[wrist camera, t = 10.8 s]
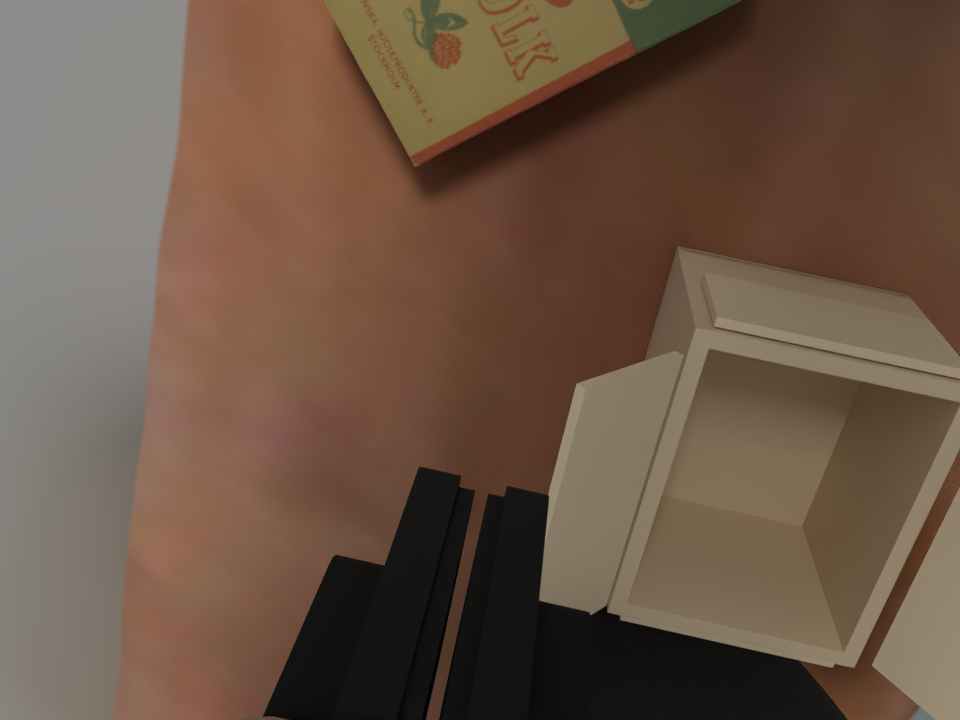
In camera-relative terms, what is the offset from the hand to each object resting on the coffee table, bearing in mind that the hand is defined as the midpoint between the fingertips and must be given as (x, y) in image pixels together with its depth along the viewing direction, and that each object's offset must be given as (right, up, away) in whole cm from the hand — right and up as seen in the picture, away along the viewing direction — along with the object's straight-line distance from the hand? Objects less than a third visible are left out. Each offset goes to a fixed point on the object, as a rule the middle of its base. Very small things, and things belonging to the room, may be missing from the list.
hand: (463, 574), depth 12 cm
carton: (+3, +19, +28) cm, 34 cm away
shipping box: (+14, +1, +35) cm, 37 cm away
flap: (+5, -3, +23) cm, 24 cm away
